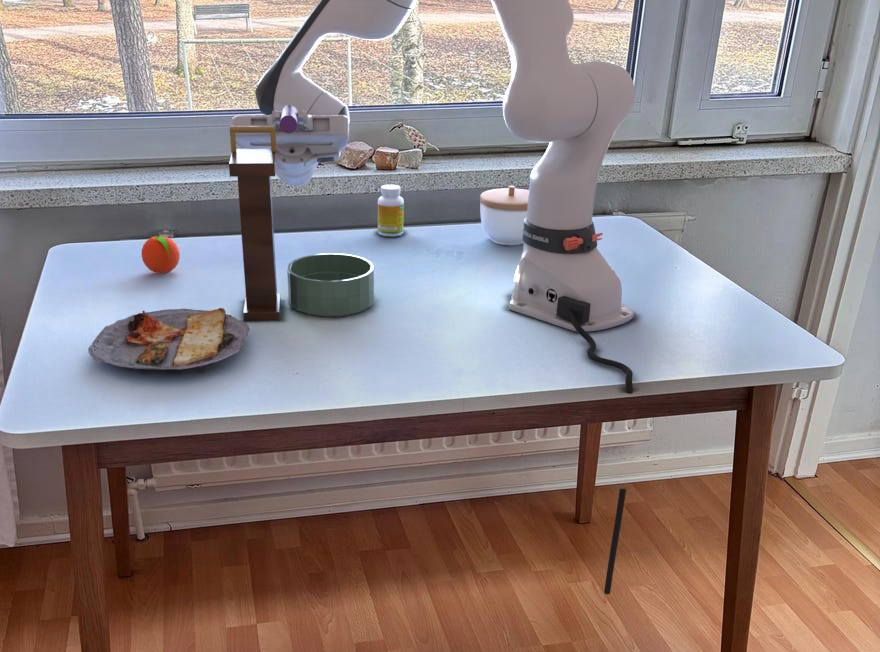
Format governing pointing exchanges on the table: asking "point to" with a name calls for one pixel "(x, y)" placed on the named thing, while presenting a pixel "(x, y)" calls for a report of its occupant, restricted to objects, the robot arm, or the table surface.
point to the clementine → (160, 254)
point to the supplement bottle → (390, 211)
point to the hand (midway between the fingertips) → (289, 115)
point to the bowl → (331, 284)
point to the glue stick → (288, 119)
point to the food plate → (170, 339)
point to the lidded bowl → (504, 214)
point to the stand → (257, 224)
